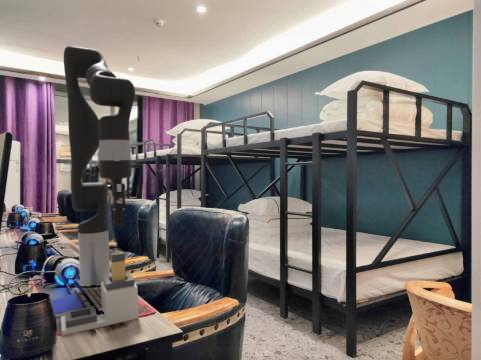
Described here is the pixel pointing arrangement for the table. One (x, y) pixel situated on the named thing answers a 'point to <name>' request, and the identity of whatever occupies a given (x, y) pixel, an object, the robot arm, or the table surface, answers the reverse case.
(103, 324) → the console
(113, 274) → the plug
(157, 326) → the table surface
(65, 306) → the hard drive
